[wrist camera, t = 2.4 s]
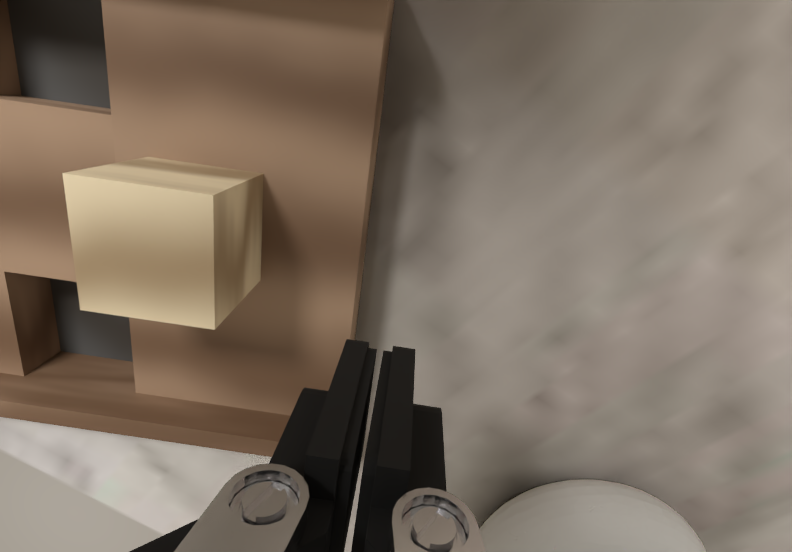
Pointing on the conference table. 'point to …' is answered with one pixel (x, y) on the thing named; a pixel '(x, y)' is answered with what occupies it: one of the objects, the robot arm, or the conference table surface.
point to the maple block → (165, 239)
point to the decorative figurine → (587, 521)
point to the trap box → (201, 144)
